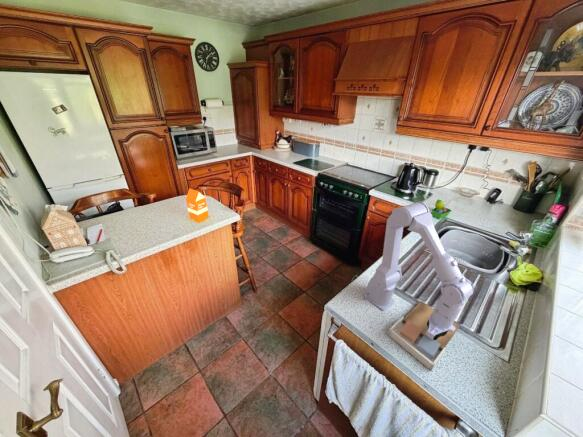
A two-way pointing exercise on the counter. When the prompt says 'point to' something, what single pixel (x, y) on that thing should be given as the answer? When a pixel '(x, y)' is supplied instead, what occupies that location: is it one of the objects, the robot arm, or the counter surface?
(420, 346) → the slate tile
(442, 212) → the fruit basket
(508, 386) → the counter surface
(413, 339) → the terracotta tile
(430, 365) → the tray
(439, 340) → the oak board
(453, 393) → the counter surface
